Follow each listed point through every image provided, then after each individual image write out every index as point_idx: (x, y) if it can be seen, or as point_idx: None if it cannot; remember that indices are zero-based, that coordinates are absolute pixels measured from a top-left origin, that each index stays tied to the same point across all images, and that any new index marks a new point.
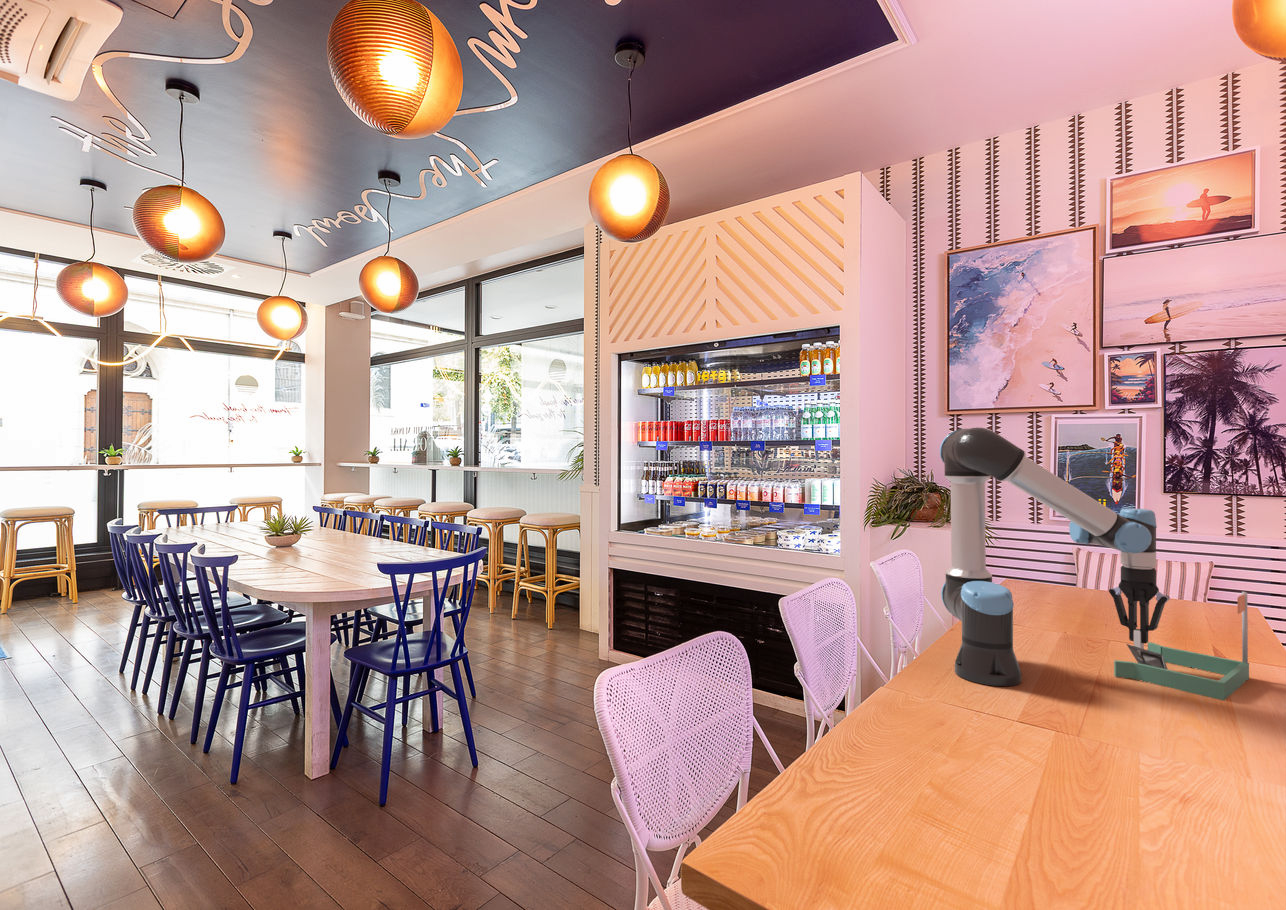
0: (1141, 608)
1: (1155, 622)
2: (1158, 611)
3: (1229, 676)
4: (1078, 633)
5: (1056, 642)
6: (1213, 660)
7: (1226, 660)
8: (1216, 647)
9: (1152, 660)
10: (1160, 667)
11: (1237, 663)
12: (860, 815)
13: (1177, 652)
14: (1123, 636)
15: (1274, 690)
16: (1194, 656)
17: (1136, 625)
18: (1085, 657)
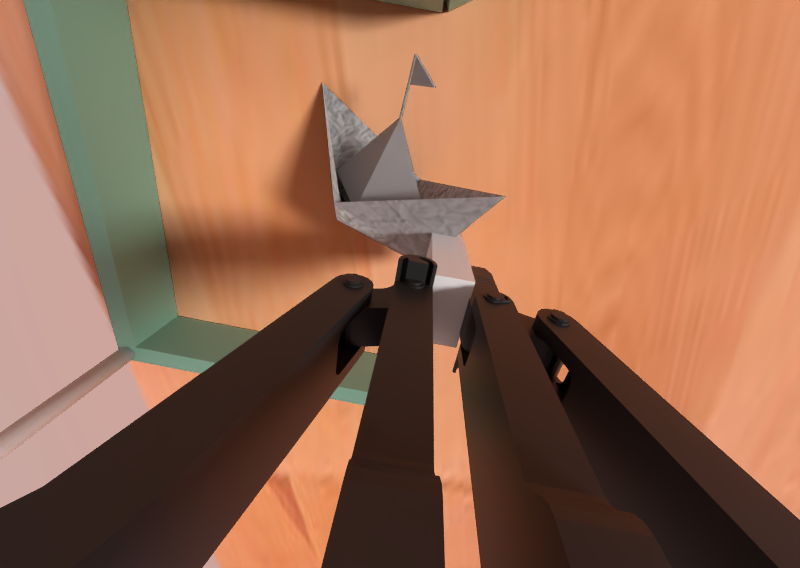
0: (414, 434)
1: (303, 305)
2: (200, 390)
3: (50, 73)
4: None
5: (724, 381)
6: (221, 354)
7: (177, 353)
8: (302, 538)
9: (376, 162)
10: (352, 170)
11: (149, 345)
12: None
13: None
14: None
15: (79, 247)
16: None
17: (460, 350)
18: (638, 234)
